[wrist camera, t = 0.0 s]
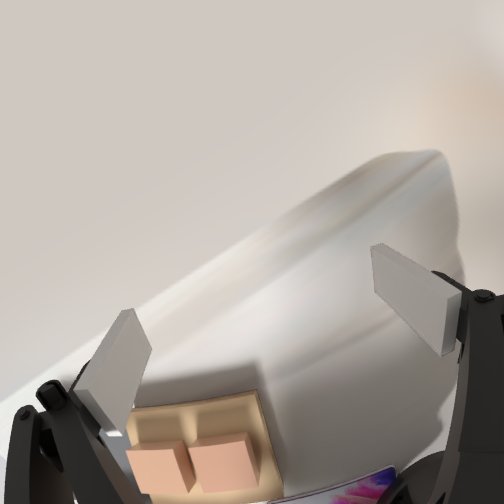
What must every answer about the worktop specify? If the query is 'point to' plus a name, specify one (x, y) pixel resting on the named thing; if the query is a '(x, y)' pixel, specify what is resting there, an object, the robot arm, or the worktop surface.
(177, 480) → the tile
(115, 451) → the tray
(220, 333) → the worktop surface
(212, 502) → the board
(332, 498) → the smartphone
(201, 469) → the tile
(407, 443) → the worktop surface
